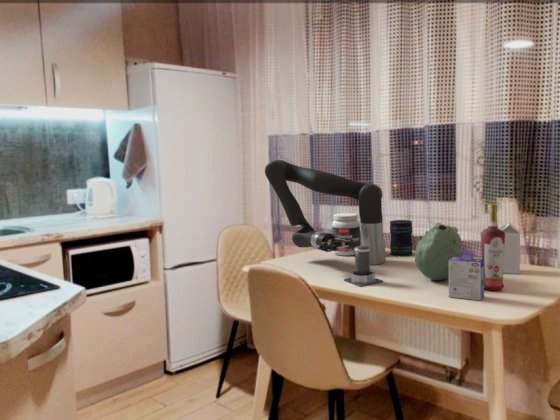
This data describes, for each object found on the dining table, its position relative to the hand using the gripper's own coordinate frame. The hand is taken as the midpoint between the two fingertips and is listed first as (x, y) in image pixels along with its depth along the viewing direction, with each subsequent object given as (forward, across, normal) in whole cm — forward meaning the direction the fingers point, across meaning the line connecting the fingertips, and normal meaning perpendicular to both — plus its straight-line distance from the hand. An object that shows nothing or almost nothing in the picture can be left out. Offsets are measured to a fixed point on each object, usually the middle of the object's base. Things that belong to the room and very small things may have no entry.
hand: (345, 246), depth 185 cm
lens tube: (+11, 0, +11) cm, 15 cm away
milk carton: (+32, +51, +12) cm, 61 cm away
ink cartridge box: (+45, +15, +12) cm, 49 cm away
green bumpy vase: (+25, +23, +12) cm, 36 cm away
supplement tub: (-33, +23, +11) cm, 42 cm away
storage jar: (-16, +41, +12) cm, 45 cm away
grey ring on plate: (+11, 0, +11) cm, 16 cm away
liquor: (+44, +28, +12) cm, 53 cm away
